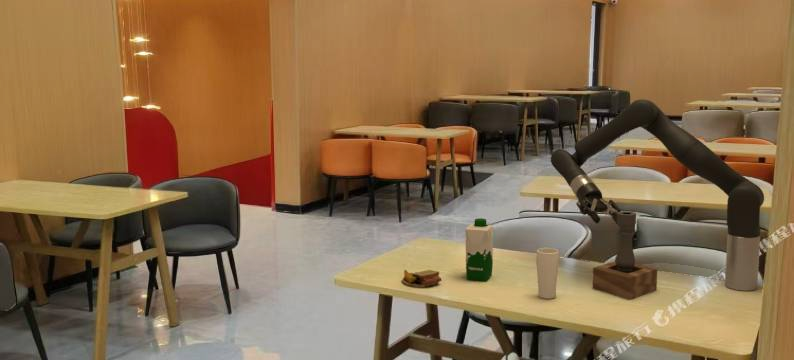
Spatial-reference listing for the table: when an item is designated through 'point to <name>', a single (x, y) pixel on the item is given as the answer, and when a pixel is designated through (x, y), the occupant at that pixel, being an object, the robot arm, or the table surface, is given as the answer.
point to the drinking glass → (547, 272)
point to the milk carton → (479, 250)
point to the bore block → (625, 280)
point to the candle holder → (625, 241)
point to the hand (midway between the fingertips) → (609, 222)
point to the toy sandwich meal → (421, 278)
